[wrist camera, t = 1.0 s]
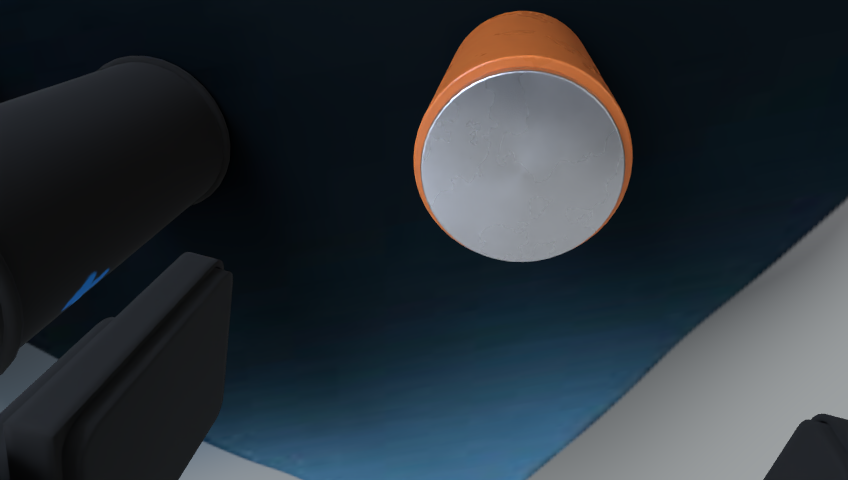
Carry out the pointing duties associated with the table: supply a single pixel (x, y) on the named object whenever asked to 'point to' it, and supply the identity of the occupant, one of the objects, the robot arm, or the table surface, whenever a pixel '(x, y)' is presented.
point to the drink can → (522, 142)
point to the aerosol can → (96, 181)
